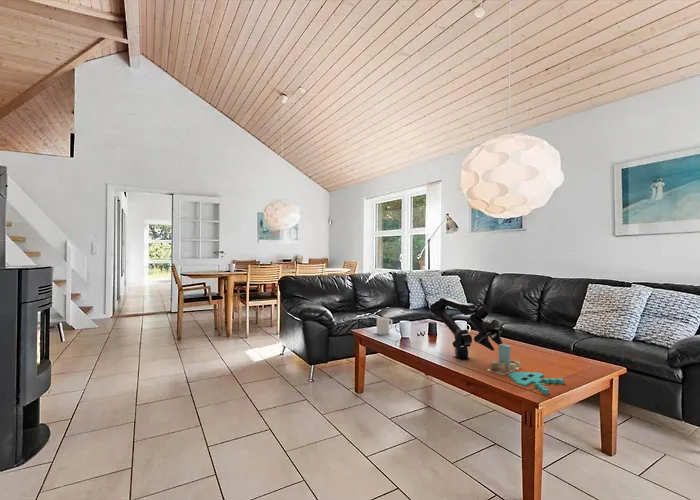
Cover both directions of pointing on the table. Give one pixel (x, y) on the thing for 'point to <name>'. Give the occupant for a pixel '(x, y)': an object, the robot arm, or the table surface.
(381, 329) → the mug
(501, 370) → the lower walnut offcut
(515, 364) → the birch rack
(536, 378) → the alien figure
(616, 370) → the table surface
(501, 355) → the teal panel
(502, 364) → the upper oak offcut
